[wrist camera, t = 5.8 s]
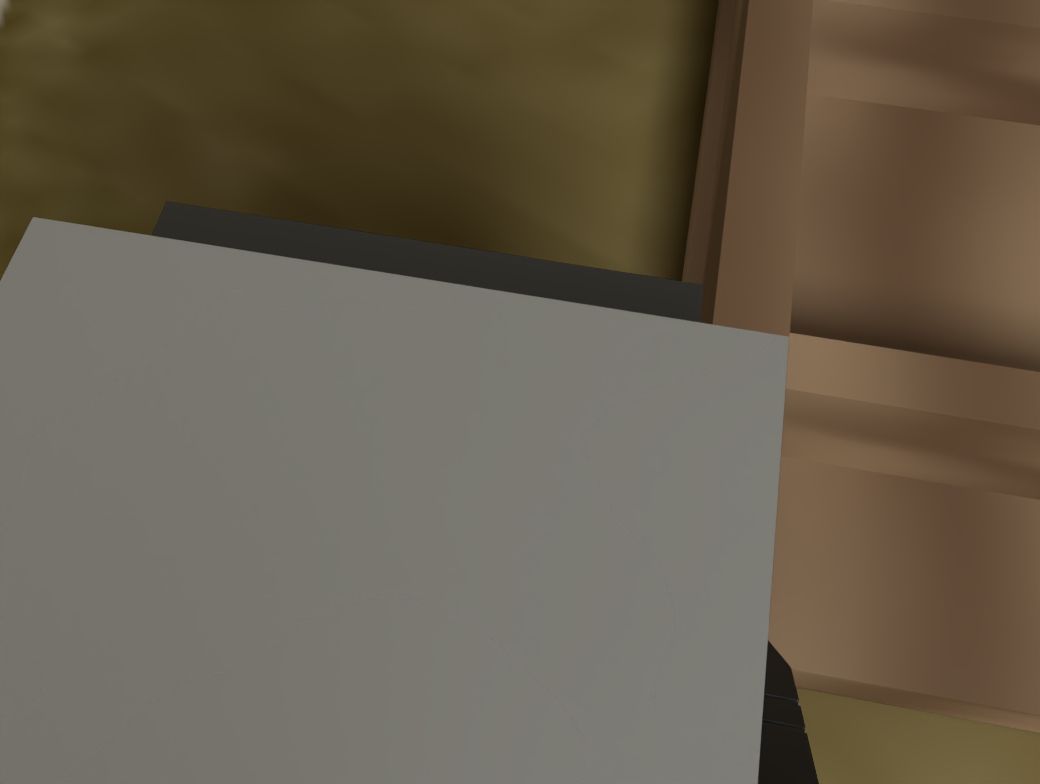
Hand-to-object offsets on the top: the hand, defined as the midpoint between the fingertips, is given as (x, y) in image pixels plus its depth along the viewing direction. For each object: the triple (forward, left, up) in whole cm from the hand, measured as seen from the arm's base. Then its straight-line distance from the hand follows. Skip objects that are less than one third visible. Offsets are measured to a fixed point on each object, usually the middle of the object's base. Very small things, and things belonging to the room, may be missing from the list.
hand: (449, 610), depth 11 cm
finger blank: (0, +2, -6) cm, 6 cm away
